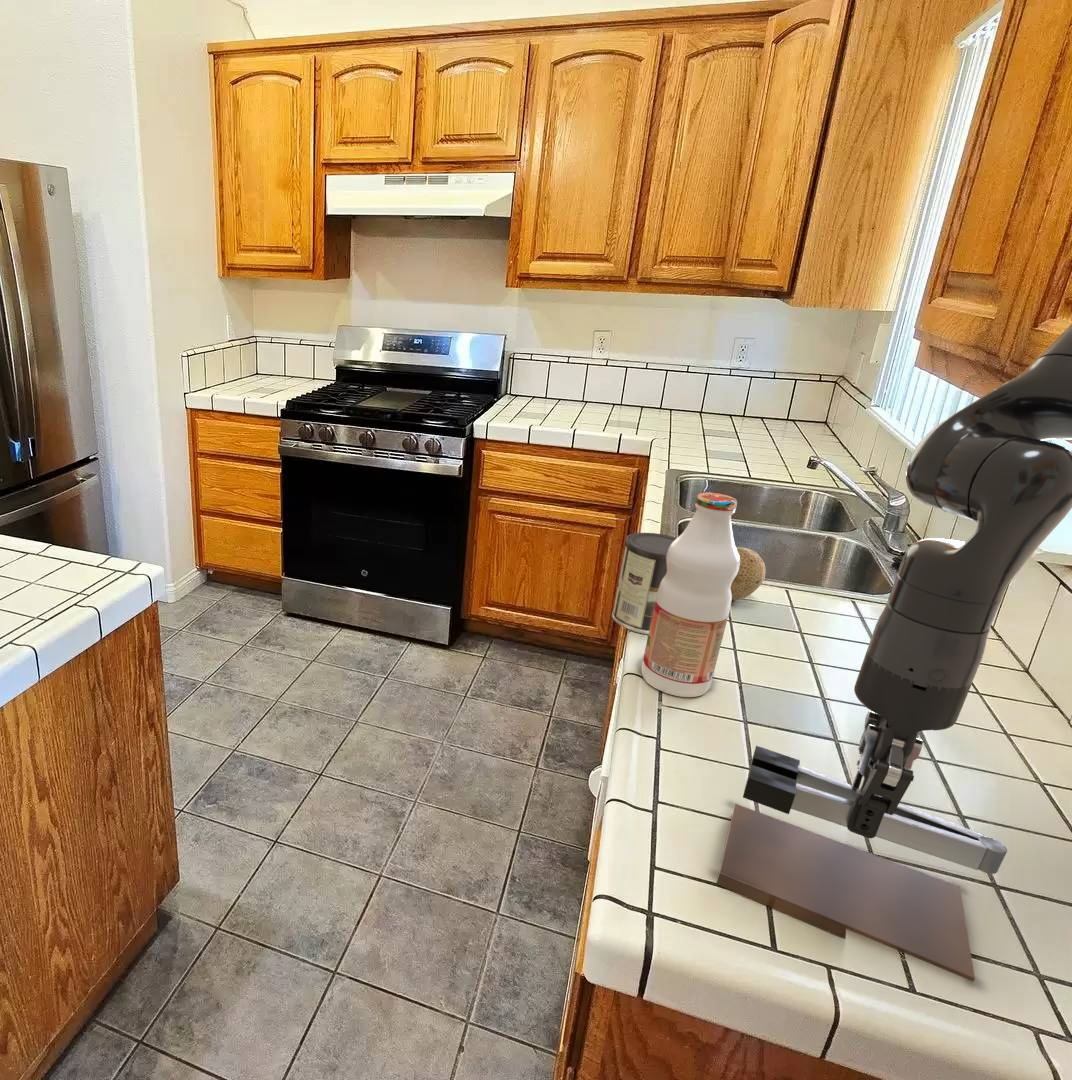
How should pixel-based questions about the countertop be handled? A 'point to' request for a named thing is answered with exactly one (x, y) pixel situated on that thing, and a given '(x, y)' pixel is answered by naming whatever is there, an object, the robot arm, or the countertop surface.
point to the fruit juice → (693, 601)
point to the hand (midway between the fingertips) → (860, 819)
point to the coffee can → (640, 580)
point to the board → (845, 889)
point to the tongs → (833, 800)
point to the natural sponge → (747, 574)
